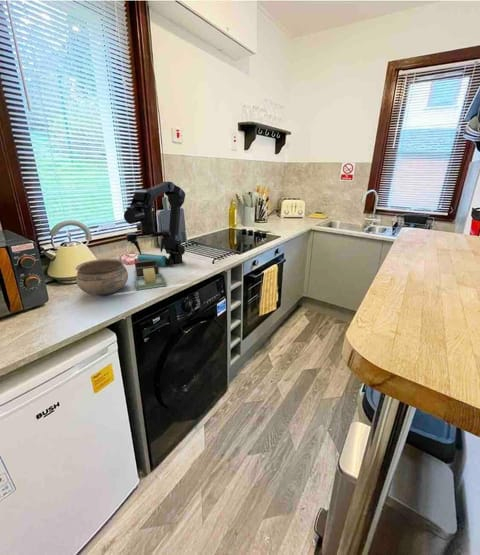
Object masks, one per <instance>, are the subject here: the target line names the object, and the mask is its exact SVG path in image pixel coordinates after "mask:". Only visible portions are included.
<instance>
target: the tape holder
mask: <svg viewBox="0 0 480 555" xmlns="http://www.w3.org/2000/svg"><path fill="white" fill-rule="evenodd" d="M134 268H135V272H136V273H135V274H136V277H141V276H144V275H143V269H147V268H154V271H155V275H156V274H160V271H159V266H158V265H157V266H156V260H151V261H142V262H137V261H135V262H134Z"/></svg>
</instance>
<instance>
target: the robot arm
mask: <svg viewBox="0 0 480 555" xmlns="http://www.w3.org/2000/svg"><path fill="white" fill-rule="evenodd" d="M162 195H165V196H166V197H167V202H168V204H169V206H170V208H169V209H170V210H169V224H168V229H167V228H165V229H159V231H156V229H155V223H154V222H155V221H154V214H153V209H155V208H156V206H155V205H154V204H153V203H154V202H155V201H156V198H157V197H160V196H162ZM185 199H186V192H185V191H184V189H182V188H181V187H180V186H178V185H176V184H175V183H174V182H172V181H166V180H165V181H162V182H161V183H158V184H156V185H153V186H152V187H149V188H143V189H136V190H134V193H133V196H132V199H131V202H130V206H126V210H125V211H124V214H123V219H124V221H125V222H126V223H127V224H129V225H133V224H135V225H136V231H137V232H139V231H140V233H136V231H133V232H126V233H125V236H126V241H127V242H130V244H133V245H134V246H135V247H136V249H137V251H138V253H139V254H140V255H141V254H142V252H141V247H140V244H139V240H138V239H146V238H156V237H159V250H160V253H163V249H164V250H165V253H166V255H168V256H167V258H172V259H173V260H174V263H173V265H180V264H183V262H184V260H183V255H184V254H185V253H186V252H185V251H186V248H184V246H183V245H182V240H181V237H180V236H179V233H180V219H181V207H182V206H183V204H184V203H185Z"/></svg>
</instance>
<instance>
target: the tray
mask: <svg viewBox="0 0 480 555" xmlns="http://www.w3.org/2000/svg"><path fill="white" fill-rule="evenodd" d="M155 277H156V278H161V280H162V282H160V281H159V282H156V283H153V284H145V283H144V284H138V281H137V280H144V276H141V277H137V276H135V277H134V281H135V282H134V283H135V288H136V291H137V292H138V291H143V290H144V291H146V290H151V289H152V290H153V289H158V288H164V287H165V288H166V287H167V284H166V282H167V281H166V280H165V278H164V275H163V274H162V273H159V274H156V275H155Z"/></svg>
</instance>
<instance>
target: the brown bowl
mask: <svg viewBox="0 0 480 555" xmlns="http://www.w3.org/2000/svg"><path fill="white" fill-rule="evenodd" d="M75 270H76V271H77V273H76V278H75V279H76V284H77V287H78V288H79V289H80V290H81V291H82V292H84V293H87V294H90V295H94V296H99V297H107V296H111V295H113V294H114V293H116V292H117V291H119V290H121V289H122V288H123V287H124V286H125V285H126V284H127V282H128V280H129V272H128V270H127V267H125V261H124V260H122V259H120V258H99V259H93V260H89V261H85V262H82V263H80V264H78V265H77V266H76V267H75Z"/></svg>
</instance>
